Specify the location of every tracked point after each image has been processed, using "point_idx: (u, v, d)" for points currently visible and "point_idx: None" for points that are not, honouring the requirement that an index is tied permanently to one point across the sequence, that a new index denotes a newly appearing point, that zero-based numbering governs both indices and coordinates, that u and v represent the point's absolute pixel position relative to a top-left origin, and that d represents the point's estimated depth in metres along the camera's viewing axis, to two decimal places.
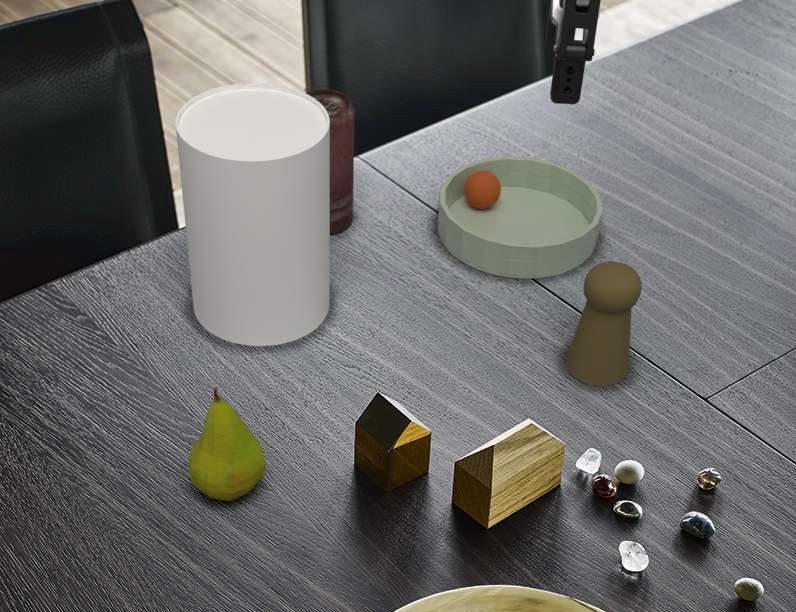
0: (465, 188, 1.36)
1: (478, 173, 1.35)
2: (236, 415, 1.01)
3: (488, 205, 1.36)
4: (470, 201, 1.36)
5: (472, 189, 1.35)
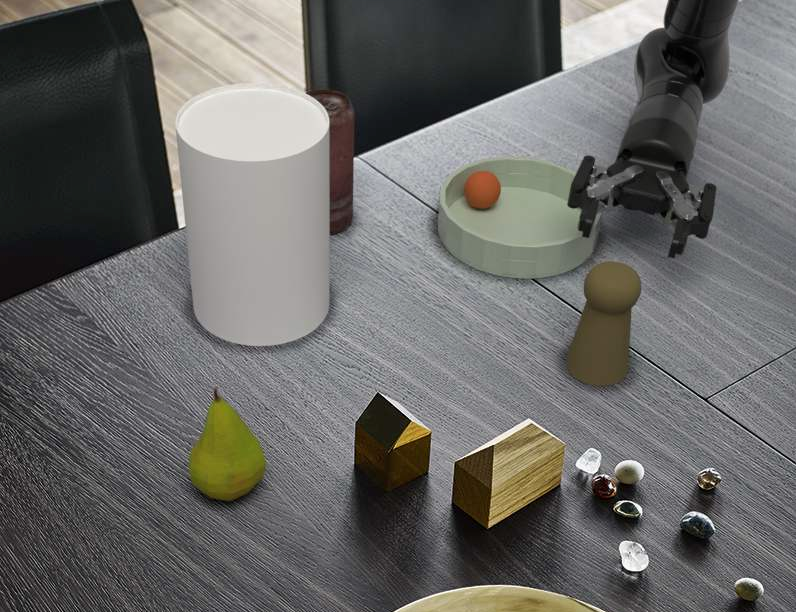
0: (465, 188, 1.36)
1: (478, 173, 1.35)
2: (236, 415, 1.01)
3: (488, 205, 1.36)
4: (470, 201, 1.36)
5: (472, 189, 1.35)
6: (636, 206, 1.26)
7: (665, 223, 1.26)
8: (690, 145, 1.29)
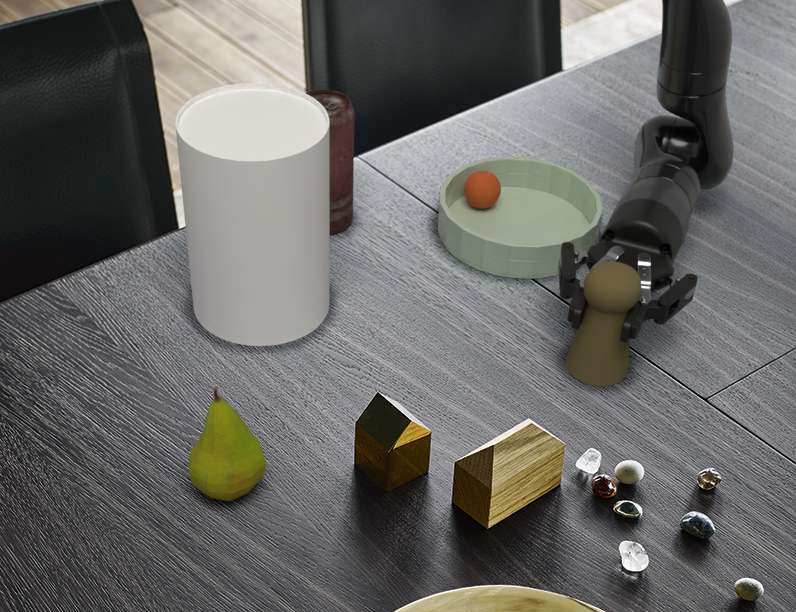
0: (465, 188, 1.36)
1: (478, 173, 1.35)
2: (236, 415, 1.01)
3: (488, 205, 1.36)
4: (470, 201, 1.36)
5: (472, 189, 1.35)
6: None
7: None
8: (679, 228, 1.22)
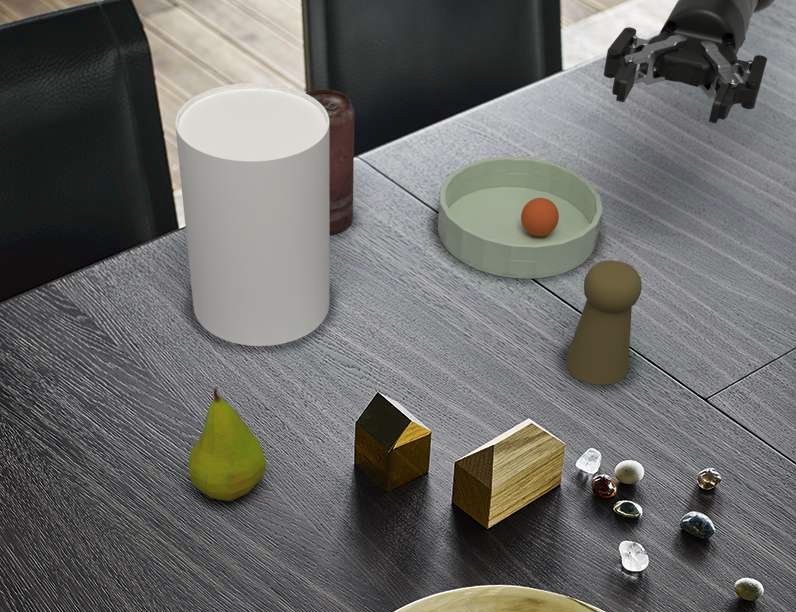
0: (538, 234, 1.33)
1: None
2: (236, 415, 1.01)
3: (532, 205, 1.32)
4: (537, 224, 1.32)
5: (527, 229, 1.33)
6: (678, 77, 1.16)
7: (709, 95, 1.16)
8: (741, 21, 1.20)
